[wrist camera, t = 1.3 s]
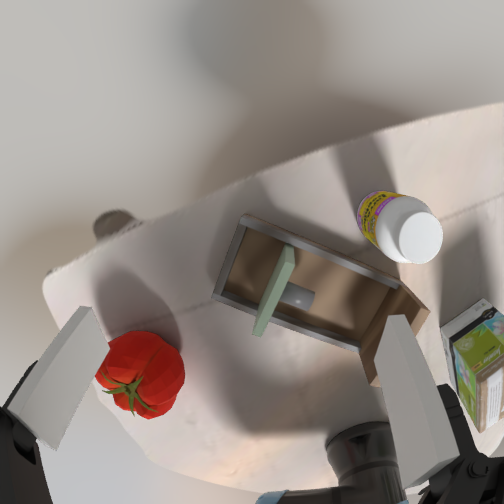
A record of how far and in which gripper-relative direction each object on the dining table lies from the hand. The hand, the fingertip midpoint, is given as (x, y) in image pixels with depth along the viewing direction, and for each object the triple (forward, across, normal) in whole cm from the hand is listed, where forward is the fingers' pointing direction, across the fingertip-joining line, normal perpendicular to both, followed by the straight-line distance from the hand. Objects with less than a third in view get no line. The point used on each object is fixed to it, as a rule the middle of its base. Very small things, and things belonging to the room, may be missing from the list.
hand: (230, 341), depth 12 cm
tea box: (+20, -36, +24) cm, 47 cm away
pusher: (+22, -3, +11) cm, 25 cm away
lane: (+23, -6, +13) cm, 27 cm away
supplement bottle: (+25, -15, +4) cm, 29 cm away
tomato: (+21, +18, +26) cm, 38 cm away
